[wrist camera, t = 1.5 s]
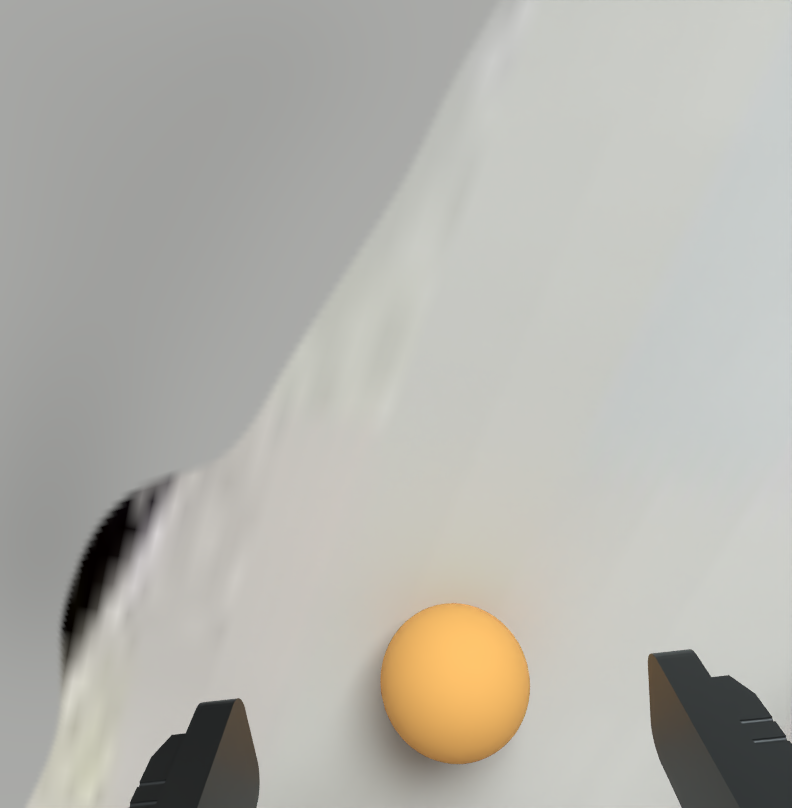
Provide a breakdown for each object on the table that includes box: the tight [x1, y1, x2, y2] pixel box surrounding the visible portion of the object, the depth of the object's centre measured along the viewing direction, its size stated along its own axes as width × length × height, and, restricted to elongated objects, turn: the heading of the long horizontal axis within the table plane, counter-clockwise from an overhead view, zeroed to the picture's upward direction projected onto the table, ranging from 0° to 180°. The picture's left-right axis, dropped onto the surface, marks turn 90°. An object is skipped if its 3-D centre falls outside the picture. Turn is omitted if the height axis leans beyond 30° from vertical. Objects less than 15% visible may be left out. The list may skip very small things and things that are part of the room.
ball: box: [381, 603, 530, 764], centre depth 28 cm, size 6×6×6 cm
